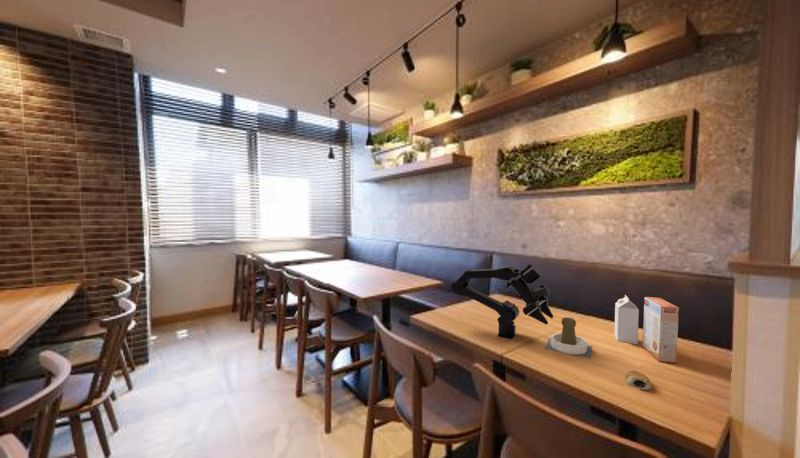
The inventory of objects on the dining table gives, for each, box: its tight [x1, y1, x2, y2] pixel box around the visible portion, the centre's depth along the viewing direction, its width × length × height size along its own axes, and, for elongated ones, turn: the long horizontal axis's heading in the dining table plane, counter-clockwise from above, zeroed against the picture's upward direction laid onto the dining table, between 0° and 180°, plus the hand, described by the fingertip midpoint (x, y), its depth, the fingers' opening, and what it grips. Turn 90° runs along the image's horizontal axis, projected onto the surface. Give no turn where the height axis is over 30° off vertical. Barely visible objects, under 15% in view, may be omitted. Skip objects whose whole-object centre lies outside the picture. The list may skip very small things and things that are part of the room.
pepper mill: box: [560, 316, 577, 345], centre depth 130 cm, size 6×6×11 cm
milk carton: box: [614, 294, 640, 345], centre depth 138 cm, size 7×7×19 cm
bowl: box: [550, 332, 589, 356], centre depth 130 cm, size 13×13×3 cm
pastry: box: [624, 370, 653, 391], centre depth 105 cm, size 9×7×4 cm
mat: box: [544, 337, 593, 359], centre depth 130 cm, size 16×13×1 cm
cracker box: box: [642, 296, 680, 364], centre depth 124 cm, size 14×6×21 cm, turn 163°
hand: (550, 320), depth 134 cm, fingers open, 9 cm apart
